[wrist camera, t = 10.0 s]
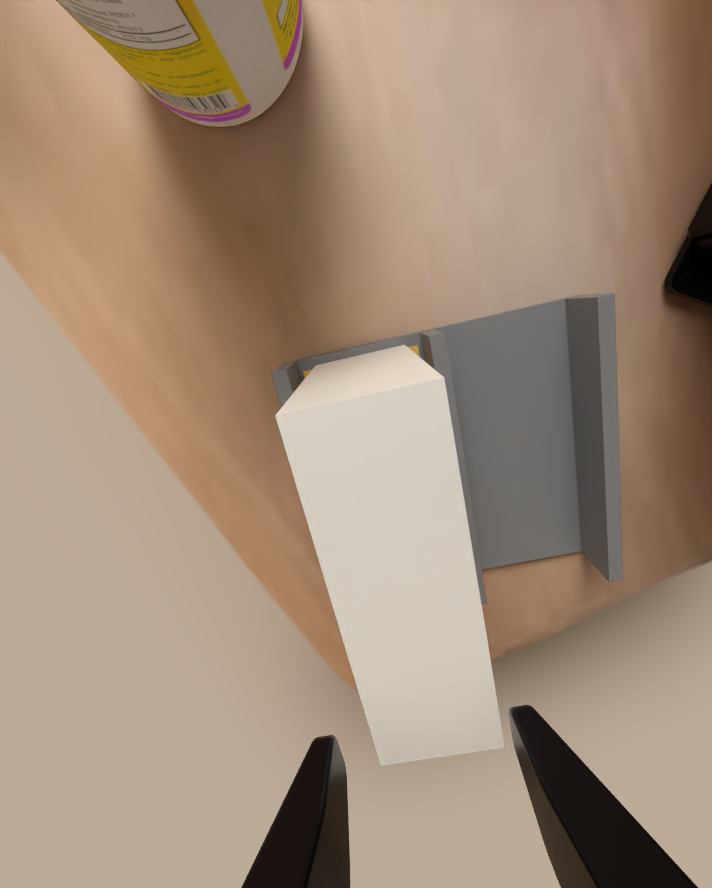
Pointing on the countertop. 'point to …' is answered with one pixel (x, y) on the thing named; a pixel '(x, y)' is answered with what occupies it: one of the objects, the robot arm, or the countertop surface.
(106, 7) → the supplement bottle
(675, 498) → the countertop surface
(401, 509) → the white rectangular box
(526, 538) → the slot rack
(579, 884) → the robot arm
